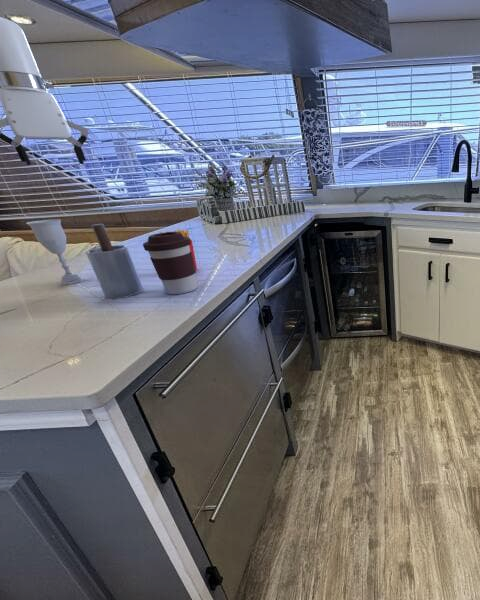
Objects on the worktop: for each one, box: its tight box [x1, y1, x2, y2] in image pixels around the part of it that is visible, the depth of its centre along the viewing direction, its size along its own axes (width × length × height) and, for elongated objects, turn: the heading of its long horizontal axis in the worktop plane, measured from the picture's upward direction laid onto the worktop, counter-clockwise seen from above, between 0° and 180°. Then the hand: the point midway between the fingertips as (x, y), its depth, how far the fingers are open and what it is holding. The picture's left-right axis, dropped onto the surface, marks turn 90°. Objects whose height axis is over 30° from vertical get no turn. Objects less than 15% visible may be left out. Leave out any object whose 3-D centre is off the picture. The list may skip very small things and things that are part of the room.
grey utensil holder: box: [85, 244, 144, 299], centre depth 83 cm, size 8×8×12 cm
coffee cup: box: [142, 231, 199, 295], centre depth 83 cm, size 10×10×15 cm
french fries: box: [159, 229, 198, 271], centre depth 99 cm, size 9×4×13 cm, turn 137°
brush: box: [91, 223, 113, 252], centre depth 82 cm, size 4×4×18 cm
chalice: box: [26, 218, 85, 286], centre depth 93 cm, size 7×7×18 cm
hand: (56, 164), depth 82 cm, fingers open, 9 cm apart
